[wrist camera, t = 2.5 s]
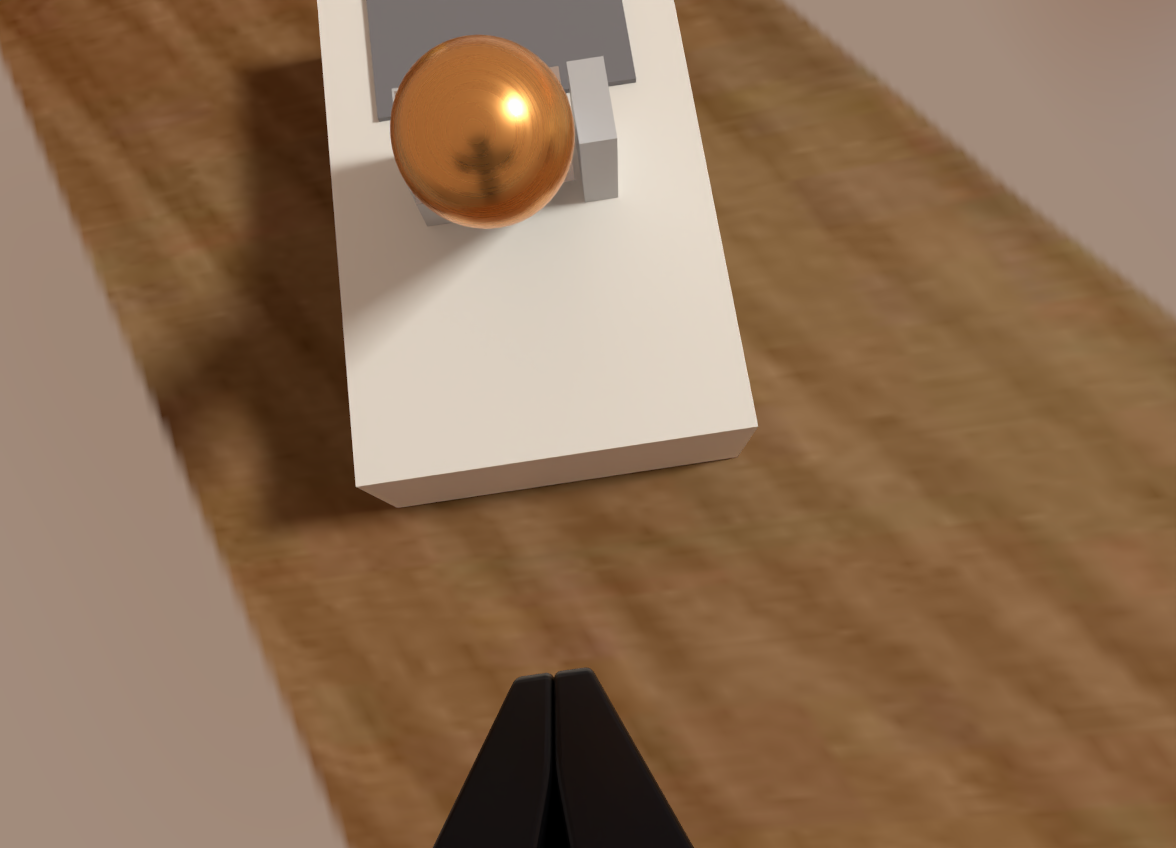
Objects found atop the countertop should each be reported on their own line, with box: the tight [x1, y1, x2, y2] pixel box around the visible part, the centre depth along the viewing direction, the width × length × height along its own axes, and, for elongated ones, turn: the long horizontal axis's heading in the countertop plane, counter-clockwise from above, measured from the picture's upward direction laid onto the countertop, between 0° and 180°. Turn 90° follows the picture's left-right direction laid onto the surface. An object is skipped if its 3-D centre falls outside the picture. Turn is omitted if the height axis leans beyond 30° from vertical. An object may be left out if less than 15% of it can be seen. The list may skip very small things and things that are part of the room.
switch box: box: [317, 0, 758, 508], centre depth 21 cm, size 14×9×6 cm, turn 8°
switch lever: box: [390, 35, 575, 229], centre depth 15 cm, size 3×3×10 cm
